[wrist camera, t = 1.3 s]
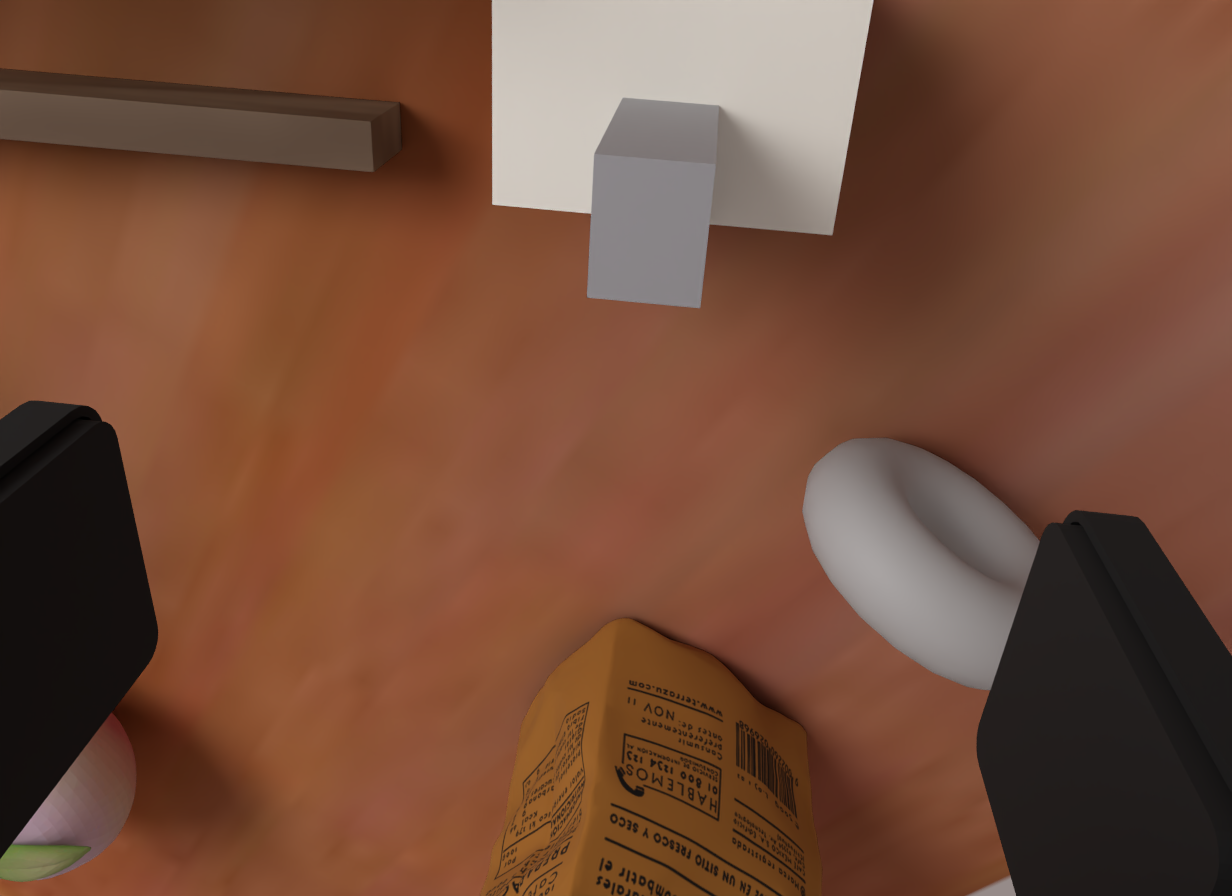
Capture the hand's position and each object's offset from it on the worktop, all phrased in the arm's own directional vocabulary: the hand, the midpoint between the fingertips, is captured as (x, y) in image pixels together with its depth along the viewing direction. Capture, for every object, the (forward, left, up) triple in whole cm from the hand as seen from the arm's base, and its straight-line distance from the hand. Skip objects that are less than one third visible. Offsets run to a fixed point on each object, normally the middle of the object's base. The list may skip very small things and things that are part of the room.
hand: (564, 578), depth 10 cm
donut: (+12, +10, -25) cm, 29 cm away
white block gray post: (-2, 0, -25) cm, 25 cm away
